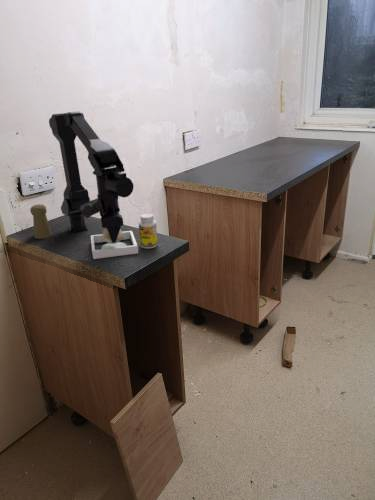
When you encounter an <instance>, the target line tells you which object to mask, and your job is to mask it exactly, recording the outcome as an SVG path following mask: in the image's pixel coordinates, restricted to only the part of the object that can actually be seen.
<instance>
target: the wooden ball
mask: <svg viewBox="0 0 375 500" xmlns="http://www.w3.org/2000/svg"><path fill="white" fill-rule="evenodd" d="M122 232H123V231H122V228H120V231H119V234H118V237H117V240H116V242H115V243H118V242H121V241H122V240H121V238H122ZM102 234H103V238H104V240H105V241H106V243H110V244H115V243H112V241H111V238H110V235H109V232H108V229H106V228H103V231H102Z"/></svg>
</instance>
